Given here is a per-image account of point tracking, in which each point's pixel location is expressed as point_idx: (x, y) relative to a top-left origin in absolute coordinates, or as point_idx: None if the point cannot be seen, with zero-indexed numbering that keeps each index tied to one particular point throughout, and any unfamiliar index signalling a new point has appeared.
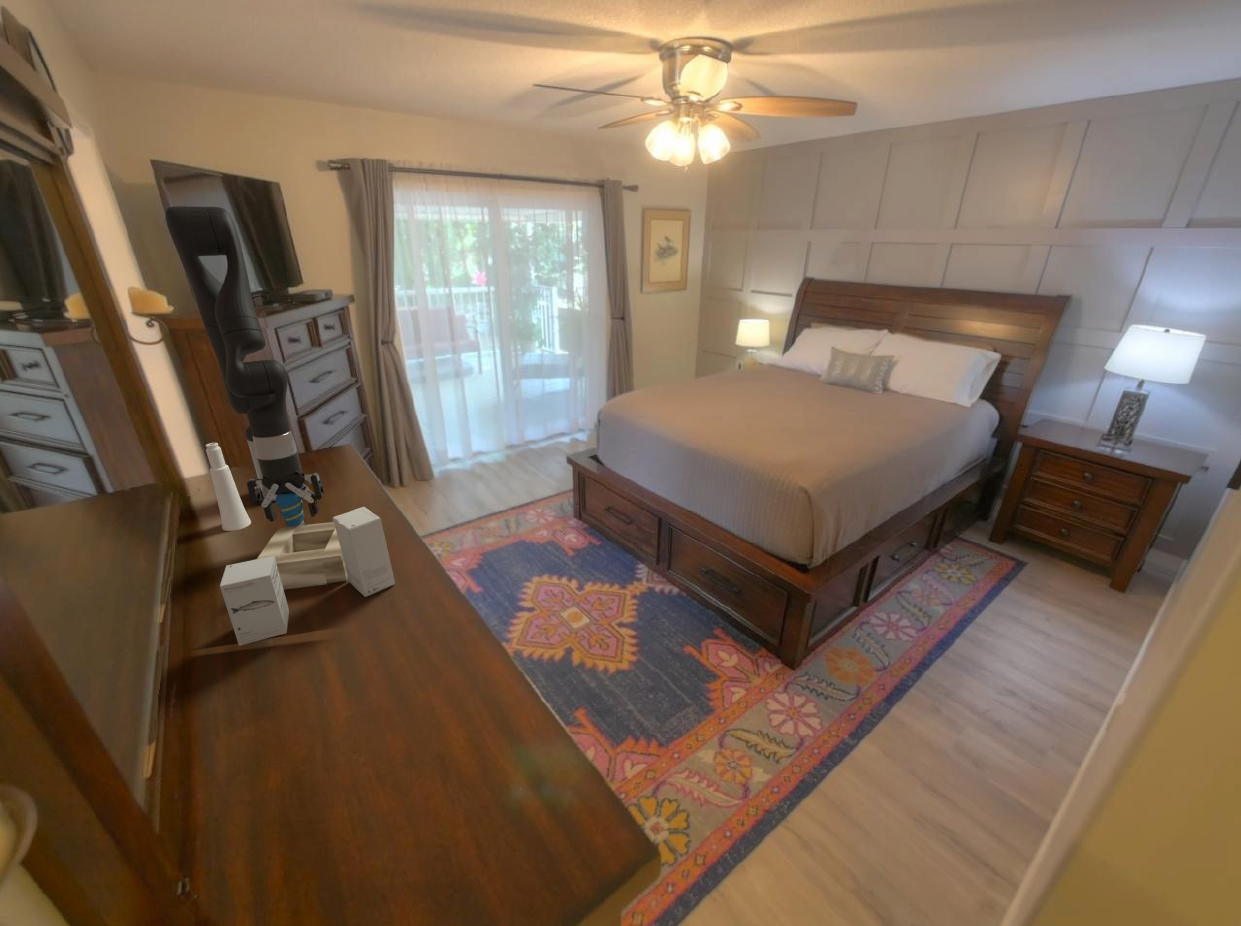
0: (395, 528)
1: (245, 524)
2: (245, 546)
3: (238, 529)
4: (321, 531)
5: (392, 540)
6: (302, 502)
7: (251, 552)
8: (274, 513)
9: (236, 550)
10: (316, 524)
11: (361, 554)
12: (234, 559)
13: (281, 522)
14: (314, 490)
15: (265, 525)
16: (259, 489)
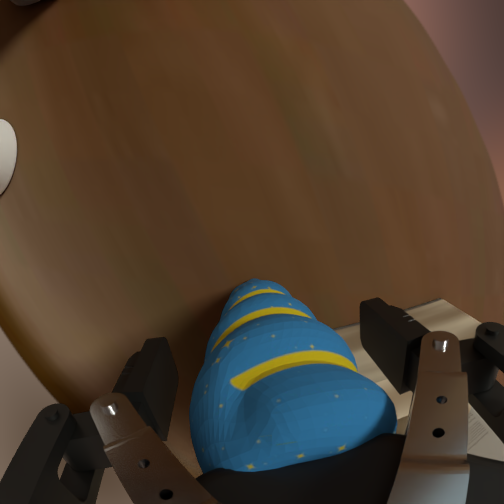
0: (493, 216)
1: (5, 166)
2: (74, 295)
3: (1, 188)
4: (405, 413)
5: (490, 283)
6: (357, 371)
7: (118, 337)
8: (163, 366)
9: (67, 317)
10: (387, 383)
11: None
12: (99, 367)
13: (97, 113)
14: (493, 427)
15: (55, 141)
16: (41, 481)
